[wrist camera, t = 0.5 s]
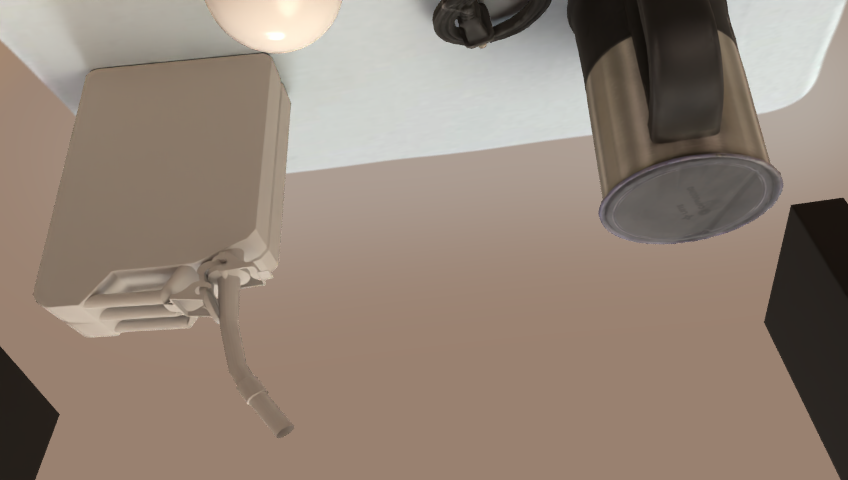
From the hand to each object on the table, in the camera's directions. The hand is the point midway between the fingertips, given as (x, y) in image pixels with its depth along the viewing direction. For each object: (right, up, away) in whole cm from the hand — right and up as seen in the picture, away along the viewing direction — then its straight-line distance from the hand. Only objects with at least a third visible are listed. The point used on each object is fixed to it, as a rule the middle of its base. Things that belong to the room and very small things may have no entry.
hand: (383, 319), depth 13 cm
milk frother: (+10, +16, +33) cm, 38 cm away
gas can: (-14, +12, +39) cm, 43 cm away
